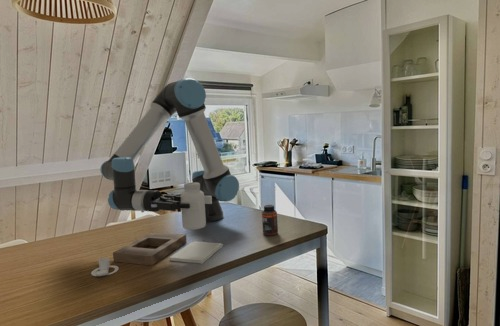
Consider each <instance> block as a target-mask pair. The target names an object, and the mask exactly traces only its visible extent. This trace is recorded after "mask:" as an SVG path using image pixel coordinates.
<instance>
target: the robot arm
mask: <svg viewBox="0 0 500 326" xmlns="http://www.w3.org/2000/svg"><path fill="white" fill-rule="evenodd" d="M206 98H207V92H206V89H205V88H204V86H203V84H202V83H201V82H199V80H196V79H194V78H183V79H180V80H177V81H173V82H169V83H168V84H166V85H165V86H164V87H163V88H162V89H161V91H160V92H159V93H158V94H157V95H156V97H155V98H154V99H153V100H152V101H151V103H150V108H149V110H148V111H147V112H146V113H145V115H144V116H143V117H142V118H141V119H140V121H139V122H138V123H137V124H136V125H135V127H134V128H133V130H132V131H131V132H130V133H129V134H128V136H127V137H126V138H125V140H124V141H123V142H122V144H121V145H119V147H118V148H117V149H116V151H115V152H114V153H113V155H112V156H111V157H110V158H109V159H108V160H106V161H104V162H103V163H102V164H101V166H100V174H101V175H102V176H103V178H105V179H107V180H109V181H112V182H113V190H111V191H110V192H109V195H108V198H107V204H108V205H109V207H110V208H112V210H117V211H118V210H119V211H122V212H123V211H134V212H135V211H136V212H141V213H144V212H153V213H154V212H155V213H156V212H159V211H160V210H161V211H170V212H176V211H177V212H178V213H179V212H181V213H182V210H181V208H182V209H183V210H200V201H181V194H182V193H180V194H176V193H172V194H164V195H163V194H162V192H161V191H160V190H158V189H157V190H156V189H154V190H150V189H149V190H148V189H137V185H136V172H135V171H136V169H135V163H134V161H135V159H136V158H137V156H138V155H139V154H140V153H141V151H142V150H143V149H144V148H145V147H146V145H147V144H148V143H149V142H150V140H151V139H152V137H154V135H155V133H156V132H157V131H158V130H159V129H160V127H161V126H162V125H163V124H164V122H165V121H166V120H168V119H170V118H171V117H172V115H174V114H177V116H178V118H179V119H180V120H183V121H184V123H185V126H186V128H187V130H188V134H189V136H190V138H191V141H192V143H193V146H194V148H195V151H196V153H197V155H198V158H199V161H200V163H201V166H202V169H203V170H197V171H194V172H192V174H191V175H192V177H191V182H197V183H200V189H199V190H200V191H202V192H203V193H204V199H205V216H206V223H211V222H215V221H219V220H222V219H223V218H224V211H223V209H222V206H221V203H220V202H230V201H232V200H234V199H235V198H236V196H237V195H238V192H239V189H240V182H239V180H238V178H237V177H235V176H234V175H232V173H231V172H230V169H229V167H228V166H227V165H225V164H224V162H223V159H222V158H221V155H220V152H219V150H218V148H217V147H218V146H217V143H216V142H215V139H214V136H213V133H212V131H211V127H210V126H209V122H208V120H207V118H206V115H205V111H206V108H207V107H206V104H205V101H206Z"/></svg>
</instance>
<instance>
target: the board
mask: <svg viewBox="0 0 500 326" xmlns="http://www.w3.org/2000/svg"><path fill="white" fill-rule="evenodd" d="M223 245H224V244H223V243H219V242H206V241H197V240H196V241H191V242H190V243H189V244H187V245H186V246H184V247H183V248H181V249H180V250H178V251H177V252H175V253H174V254H172V255H170V256H169V261H174V262H182V263H183V262H184V263H192V264H204V263H205V262H206V261H207V260H209V259H210V258H211V257H212V256H213V255H214V254H215V253H217V252H218V251H219V250H220V249H221V248H222V247H223Z"/></svg>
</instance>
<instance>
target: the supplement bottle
mask: <svg viewBox="0 0 500 326" xmlns="http://www.w3.org/2000/svg"><path fill="white" fill-rule="evenodd" d="M261 222H262V224H261V225H262V234H263V235H265V236H270V237H272V236H275V235H277V234H278V233H279V226H278V212H277V210H275V205H274V204H265V205H264V206H263V211H261Z"/></svg>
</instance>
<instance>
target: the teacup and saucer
mask: <svg viewBox="0 0 500 326" xmlns="http://www.w3.org/2000/svg"><path fill="white" fill-rule="evenodd" d="M110 268H113V269H114V270H113V271H112V272H110V271H109V269H110ZM119 269H120V268H119V266H117V265H111V264H110V258H109V257H103V258H99V259H98V267H97V268H95V269H93V270H92V271H91V273H90V274H91V276H93V277H105V276H109V275H112V274H115V273H116V272H118V271H119Z"/></svg>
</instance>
